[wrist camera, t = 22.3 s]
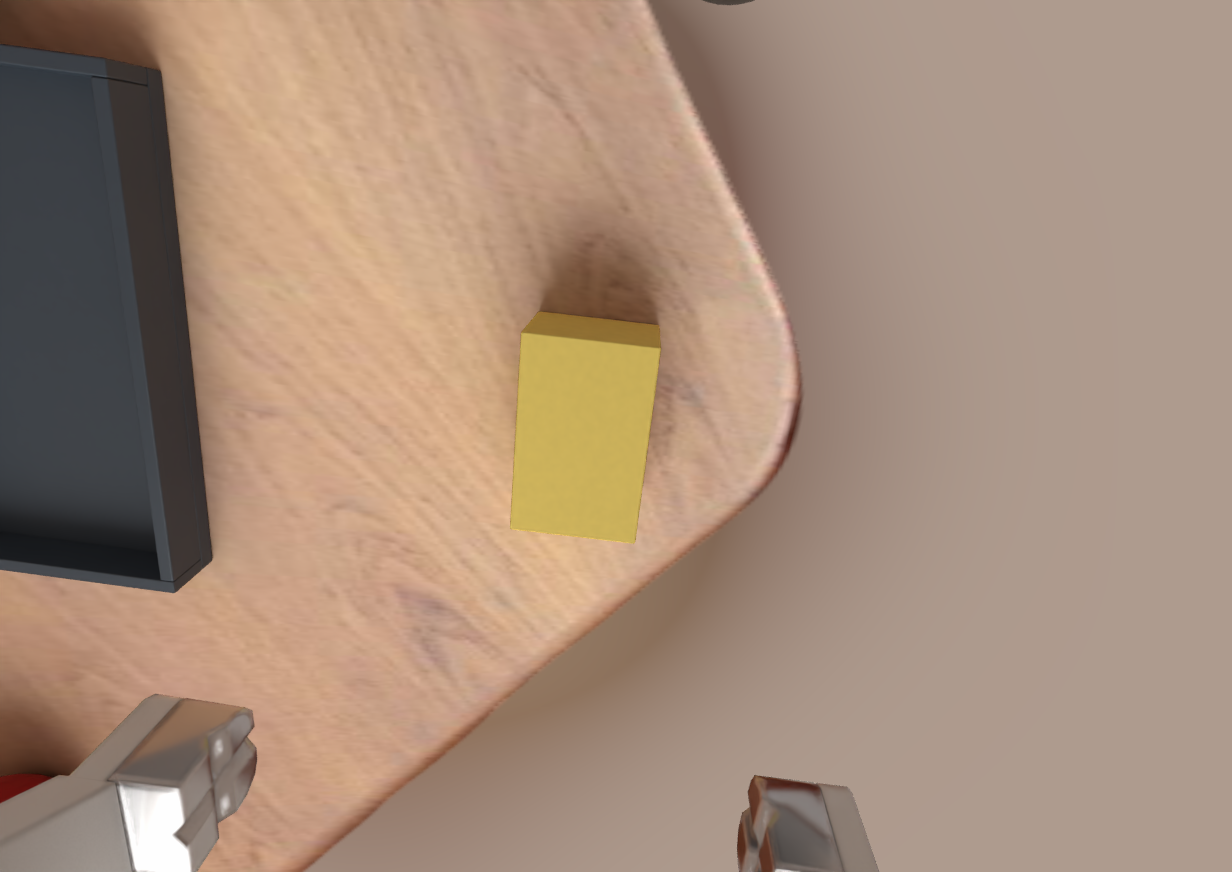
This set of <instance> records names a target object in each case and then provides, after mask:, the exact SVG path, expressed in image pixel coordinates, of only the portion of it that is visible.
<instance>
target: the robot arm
mask: <svg viewBox="0 0 1232 872" xmlns="http://www.w3.org/2000/svg"><path fill="white" fill-rule="evenodd" d="M253 728H254V720H253V713H252V710H250V709H248V708H245V707H239V706H232V705H226V704H220V703H214V702H208V701H202V700H195V699H189V698H180V697H173V696H167V695H161V694H154V695H152V696H150V697H148V698H146V699H144V700H143V701H142V702H141V703H140V704H139V705H138V706H137V707H136V708H135V709H134V710H133V711H132V712H131V713H130V714H129V715H128V716H127V717H126V718H125V719H124V720H123V721H122V722H121V723H120V724H119V725H118V726H117V727H116V728H115V729H114V730H113V732H112V733H111V734H110V735H109V736H108V737H107V738H106V739H105V740H104V741H103V742H102V743H101V744H100V745H99V746H98V747H97V748H96V749H95V750H94V751H93V752H92V753H91V754H90V755H89V756H88V757H87V758H86V759H85V760H84V761H83V762H82V763H81V764H80V765H79V766H78V767H77V768H76V769H75V770H74V771H73V772H72V773H71V774H70V775H69V776H64V775H58V776H56V777H54V778H51V779H49V780H47V781H45V782H43V783H41V784H39V785H37V786H35V787H33V788H31V789H29V790H27V791H25V792H23V793H21V794H18V795H16V796H14V797H12V798H10V799H8V800H6V801H4V802H2V803H0V872H197V871H198V869H199V868H200V866H201V865H202V863H203V862H204V860H205V859H206V857H207V855H208V854H209V852H210V851H211V849H212V848H213V846H214V845H215V843H216V842H217V840H218V839H219V831H218V823H219V822H221V821H222V820H224V819H225V818H227V817H228V816H230V815H232V814H233V813H235V812H236V811H237V810H238V808H239V807H240V805H241V803H242V802H243V800H244V799H245V797H246V795H247V793H248V791H249V788H250V786H251V783H252V781H253V778H254V776H255V770H256V764H257V751H256V747H255V746H254V744H253V743H252V742H251V741H250V740H249V739H248V737H247V736H248V735H249V733H250V732H251V730H252V729H253ZM748 798H749V803H750V807H749V808H748V809H747V810H745V811H744V812H742V816H741V820H740V824H739V830H738V842H737V858H738V868H739V872H879V870H878V867H877V864H876V861H875V858H874V855H873V852H872V850H871V846H870V844H869V841H868V838H867V835H866V832H865V829H864V826H863V823H862V820H861V818H860V815H859V812H858V809H857V805H856V803H855V800H854V797H853V794H852V792H851V791H850V789H849V788H848V787H845V786H837V785H829V784H821V783H813V782H807V781H799V780H791V779H782V778H774V777H766V776H757V775H754V777H753V779H752V780H751V782H750V786H749V790H748Z"/></svg>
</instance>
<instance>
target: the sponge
mask: <svg viewBox="0 0 1232 872" xmlns="http://www.w3.org/2000/svg"><path fill="white" fill-rule="evenodd" d="M660 353H661V342H660V329H659V325H653V324H645V323H636V322H627V321H619V320H610V319H601V318H593V317H584V316H575V315H567V314H558V313H549V312H541V311H539V312H538V313H537V314H536V315H535V316H534V318H533V319H532V320H531V321H530V322H529V324H528V325H527V326H526V327H525V328H524V329H523V331H522V332H521V342H520V360H519V377H518V395H517V413H516V431H515V449H514V467H513V484H512V502H511V520H510V529H513V530H522V531H530V532H539V533H547V534H556V535H564V536H573V537H581V538H590V539H599V540H607V541H616V542H624V543H635V540H636V532H637V525H638V517H639V510H640V502H641V495H642V487H643V480H644V473H645V465H646V458H647V450H648V443H649V435H650V428H651V420H652V413H653V405H654V398H655V390H656V383H657V375H658V368H659V360H660Z"/></svg>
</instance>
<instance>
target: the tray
mask: <svg viewBox="0 0 1232 872" xmlns="http://www.w3.org/2000/svg"><path fill="white" fill-rule="evenodd" d="M211 561H212V552H211V543H210V533H209V524H208V514H207V505H206V495H205V486H204V476H203V467H202V457H201V448H200V438H199V429H198V420H197V410H196V401H195V391H194V382H193V372H192V363H191V353H190V344H189V334H188V325H187V315H186V306H185V296H184V287H183V277H182V268H181V259H180V249H179V240H178V230H177V221H176V211H175V202H174V192H173V183H172V173H171V164H170V154H169V145H168V135H167V126H166V116H165V107H164V97H163V88H162V79H161V72H160V71H159V70H156V69H151V68H147V67H142V66H138V65H133V64H129V63H125V62H120V61H116V60H111V59H107V58H102V57H94V56H87V55H80V54H72V53H65V52H58V51H50V50H43V49H36V48H28V47H21V46H14V45H6V44H0V570H6V571H14V572H21V573H29V574H36V575H43V576H51V577H58V578H66V579H73V580H80V581H88V582H95V583H103V584H110V585H117V586H125V587H132V588H140V589H147V590H155V591H162V592H169V593H176V592H177V591H178V590H179V589H180V588H181V587H182V586H184V585H185V584H186V583H187V582H188V581H189V580H191V579H192V578H193V577H194V576H195V575H196V574H197V573H199V572H200V571H201V570H202V569H203V568H204V567H205V566H206V565H208V564H209V563H210V562H211Z"/></svg>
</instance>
